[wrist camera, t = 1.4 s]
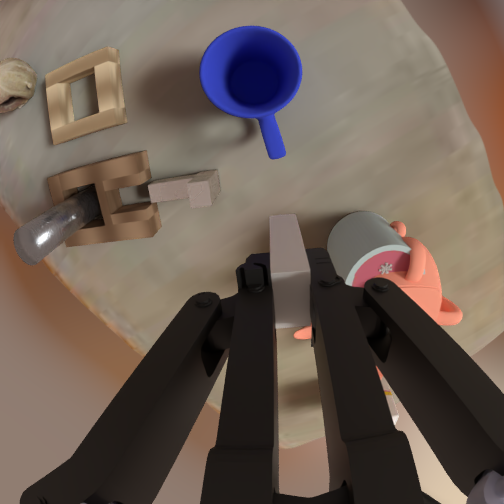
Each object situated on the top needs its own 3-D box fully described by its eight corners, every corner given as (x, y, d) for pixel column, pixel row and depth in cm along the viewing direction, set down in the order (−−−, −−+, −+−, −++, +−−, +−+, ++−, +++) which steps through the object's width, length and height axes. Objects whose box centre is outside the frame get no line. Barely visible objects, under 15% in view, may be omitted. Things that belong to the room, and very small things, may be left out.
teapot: (357, 336, 44) (378, 402, 32) (285, 272, 39) (291, 342, 27) (436, 272, 38) (481, 327, 26) (377, 189, 34) (428, 230, 22)
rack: (58, 75, 28) (45, 75, 25) (118, 50, 27) (107, 46, 24) (66, 141, 32) (53, 145, 30) (127, 122, 31) (116, 124, 29)
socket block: (146, 150, 33) (134, 154, 30) (161, 226, 37) (152, 237, 34) (61, 172, 34) (47, 178, 31) (78, 237, 38) (66, 247, 35)
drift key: (217, 169, 34) (208, 180, 28) (220, 190, 35) (212, 205, 29) (154, 178, 34) (135, 191, 29) (158, 198, 35) (140, 214, 30)
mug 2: (339, 203, 35) (363, 235, 26) (402, 221, 35) (438, 255, 26) (307, 295, 41) (317, 345, 32) (366, 305, 41) (385, 352, 32)
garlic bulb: (18, 95, 31) (-33, 102, 22) (34, 48, 26) (-20, 50, 18) (34, 121, 30) (-24, 132, 22) (52, 68, 26) (-12, 72, 17)
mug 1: (241, 157, 33) (231, 174, 24) (209, 62, 28) (186, 43, 19) (310, 139, 32) (327, 148, 23) (279, 42, 27) (284, 15, 18)
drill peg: (81, 188, 35) (9, 230, 22) (104, 183, 35) (31, 225, 21) (88, 215, 37) (21, 266, 23) (111, 211, 37) (45, 264, 23)
